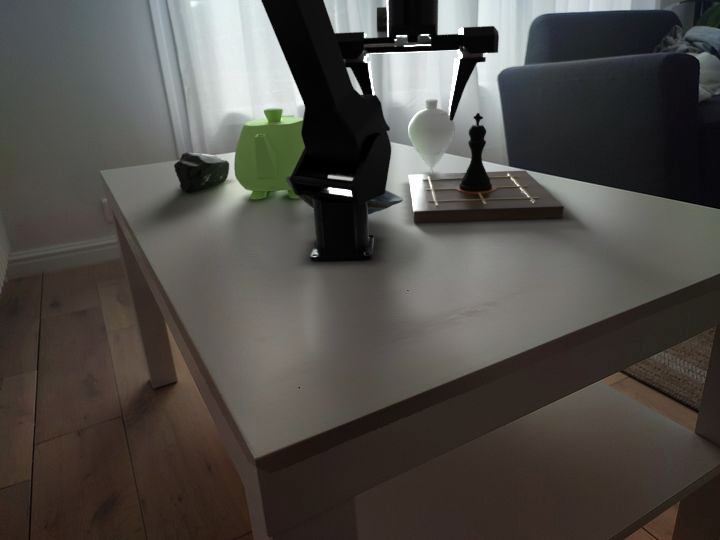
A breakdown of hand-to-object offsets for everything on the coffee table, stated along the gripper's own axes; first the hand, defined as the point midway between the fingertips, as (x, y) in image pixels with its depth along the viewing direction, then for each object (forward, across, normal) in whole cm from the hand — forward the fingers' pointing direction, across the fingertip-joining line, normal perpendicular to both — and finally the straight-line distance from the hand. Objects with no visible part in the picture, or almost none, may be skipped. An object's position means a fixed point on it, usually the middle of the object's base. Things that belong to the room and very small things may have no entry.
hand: (412, 121), depth 64 cm
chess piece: (+10, -9, -6) cm, 15 cm away
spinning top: (+11, -4, -24) cm, 26 cm away
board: (+12, -9, -7) cm, 16 cm away
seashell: (+12, +9, +1) cm, 15 cm away
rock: (+12, +34, -20) cm, 41 cm away
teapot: (+12, +20, -14) cm, 27 cm away
